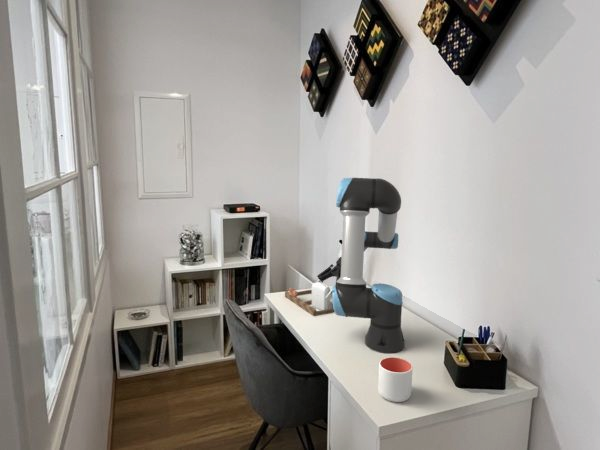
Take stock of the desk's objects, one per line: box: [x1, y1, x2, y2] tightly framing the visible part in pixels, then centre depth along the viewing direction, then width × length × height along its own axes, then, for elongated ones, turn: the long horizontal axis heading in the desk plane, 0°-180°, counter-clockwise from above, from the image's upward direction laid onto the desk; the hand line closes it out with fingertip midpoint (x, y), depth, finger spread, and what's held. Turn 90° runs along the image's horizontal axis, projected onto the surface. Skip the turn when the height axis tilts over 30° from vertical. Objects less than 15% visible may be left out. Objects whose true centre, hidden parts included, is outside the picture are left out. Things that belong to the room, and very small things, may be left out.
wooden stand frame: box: [284, 287, 335, 317], centre depth 211 cm, size 29×15×6 cm, turn 29°
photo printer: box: [311, 281, 331, 311], centre depth 205 cm, size 10×4×12 cm, turn 39°
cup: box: [377, 356, 414, 403], centre depth 132 cm, size 10×10×10 cm
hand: (319, 295), depth 205 cm, fingers open, 13 cm apart
